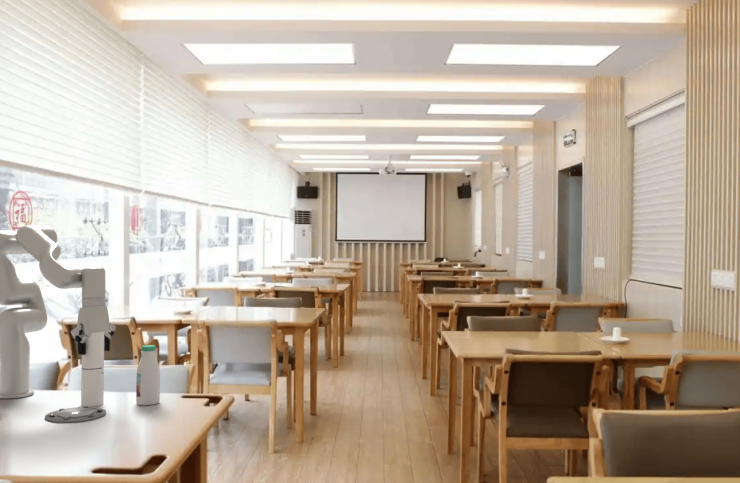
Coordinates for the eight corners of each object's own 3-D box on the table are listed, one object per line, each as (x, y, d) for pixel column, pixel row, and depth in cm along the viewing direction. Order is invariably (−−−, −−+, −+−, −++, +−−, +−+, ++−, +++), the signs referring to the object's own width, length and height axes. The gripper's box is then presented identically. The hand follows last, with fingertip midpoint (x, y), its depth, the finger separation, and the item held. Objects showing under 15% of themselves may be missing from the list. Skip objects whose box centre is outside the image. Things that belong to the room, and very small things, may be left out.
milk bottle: (163, 401, 238) (163, 344, 238) (154, 406, 231) (154, 347, 231) (142, 400, 239) (142, 343, 239) (132, 405, 231) (132, 347, 231)
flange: (32, 417, 214) (32, 414, 214) (82, 406, 229) (82, 402, 229) (69, 425, 205) (69, 421, 205) (118, 413, 220) (118, 409, 220)
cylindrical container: (76, 405, 231) (77, 331, 231) (93, 400, 238) (94, 329, 238) (90, 407, 228) (91, 333, 228) (108, 403, 234) (108, 331, 234)
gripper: (107, 300, 242) (107, 348, 242) (64, 304, 227) (64, 355, 227) (121, 301, 239) (122, 349, 238) (79, 305, 224) (79, 356, 223)
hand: (94, 352), depth 233 cm, fingers open, 9 cm apart
